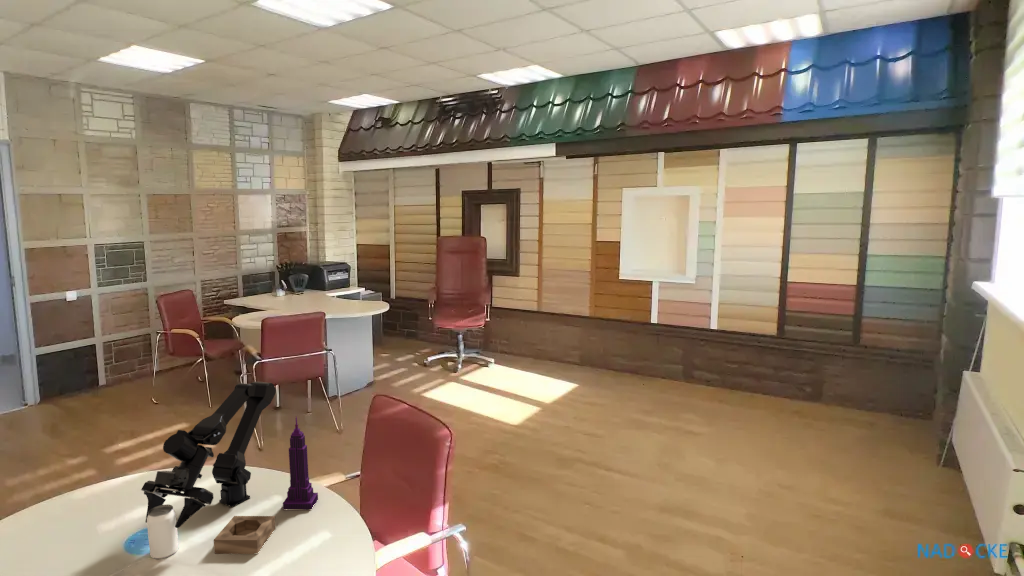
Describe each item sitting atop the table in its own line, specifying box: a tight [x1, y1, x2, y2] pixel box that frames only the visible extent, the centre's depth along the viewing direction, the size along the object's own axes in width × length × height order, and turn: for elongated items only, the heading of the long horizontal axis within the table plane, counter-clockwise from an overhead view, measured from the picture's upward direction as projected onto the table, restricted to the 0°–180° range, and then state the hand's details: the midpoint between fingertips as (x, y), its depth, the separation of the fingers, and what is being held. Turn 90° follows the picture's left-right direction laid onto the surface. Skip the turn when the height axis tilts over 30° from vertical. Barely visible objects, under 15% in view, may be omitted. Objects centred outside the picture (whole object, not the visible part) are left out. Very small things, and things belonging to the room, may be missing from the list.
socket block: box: [213, 515, 276, 555], centre depth 155 cm, size 11×11×4 cm
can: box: [146, 504, 179, 560], centre depth 150 cm, size 6×6×12 cm
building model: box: [282, 417, 319, 510], centre depth 172 cm, size 9×6×30 cm
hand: (161, 525), depth 149 cm, fingers open, 9 cm apart
